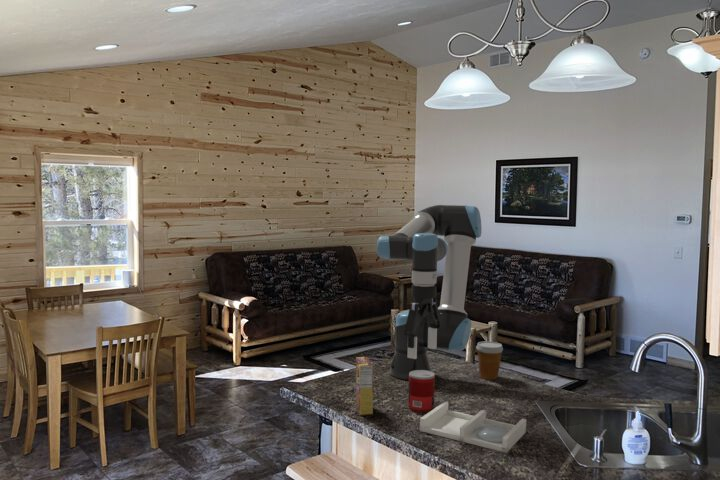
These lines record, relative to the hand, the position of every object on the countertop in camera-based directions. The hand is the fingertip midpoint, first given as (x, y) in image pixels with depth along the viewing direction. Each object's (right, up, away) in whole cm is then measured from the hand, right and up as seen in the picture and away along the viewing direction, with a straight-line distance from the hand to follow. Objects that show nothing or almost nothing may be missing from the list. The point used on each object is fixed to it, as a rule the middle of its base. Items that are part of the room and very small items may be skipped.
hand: (422, 353), depth 186 cm
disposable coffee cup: (+27, -15, +34) cm, 46 cm away
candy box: (-18, -17, 0) cm, 25 cm away
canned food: (0, -18, +2) cm, 18 cm away
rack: (+12, -19, -18) cm, 29 cm away
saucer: (+17, -19, -21) cm, 33 cm away
